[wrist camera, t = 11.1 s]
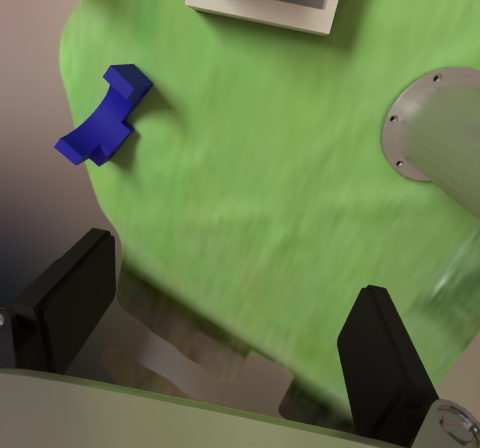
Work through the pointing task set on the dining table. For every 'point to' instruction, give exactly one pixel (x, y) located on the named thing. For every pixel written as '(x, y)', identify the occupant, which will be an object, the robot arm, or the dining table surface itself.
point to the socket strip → (275, 12)
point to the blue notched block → (107, 118)
